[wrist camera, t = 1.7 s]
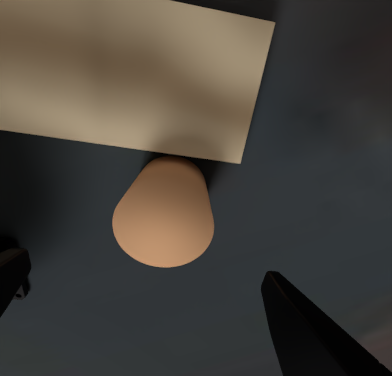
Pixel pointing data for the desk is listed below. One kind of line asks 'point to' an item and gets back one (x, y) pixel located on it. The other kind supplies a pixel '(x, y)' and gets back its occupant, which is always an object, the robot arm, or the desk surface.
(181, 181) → the tan rounded cone
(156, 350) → the desk surface
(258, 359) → the desk surface
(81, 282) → the desk surface
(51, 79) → the pale wood u-shaped block
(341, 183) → the desk surface
